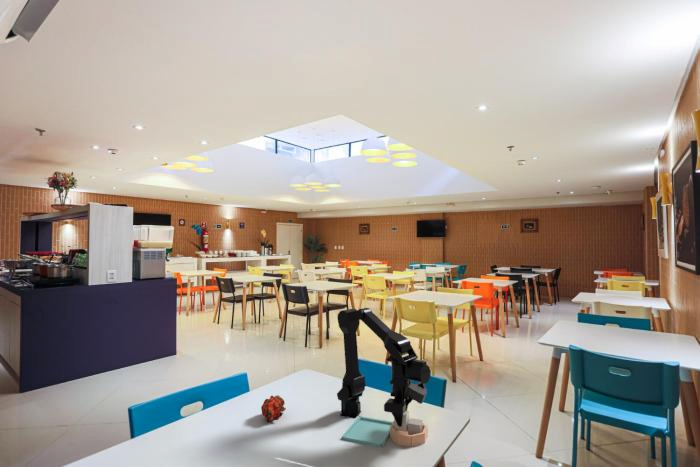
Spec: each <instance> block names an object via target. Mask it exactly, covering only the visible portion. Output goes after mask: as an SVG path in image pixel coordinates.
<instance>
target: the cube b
mask: <svg viewBox="0 0 700 467" xmlns="http://www.w3.org/2000/svg"><path fill="white" fill-rule="evenodd" d="M409 419H410V420H409V422H408V435H414V434H418V433H422V432H423V423H424V422H423V419H420V418H412V417H410V418H409Z"/></svg>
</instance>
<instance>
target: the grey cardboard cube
mask: <svg viewBox="0 0 700 467" xmlns="http://www.w3.org/2000/svg"><path fill="white" fill-rule="evenodd" d="M393 419H394V420H393V421H394V426H395V430H400V431H405V432H407V430H408V422H409V419H410V411H409V410H407V411H405V412H404V413H403V421H402V426H401V427H399V426H398V425H397V423H396V421H395V418H394V417H393Z"/></svg>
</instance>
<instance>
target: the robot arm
mask: <svg viewBox="0 0 700 467" xmlns="http://www.w3.org/2000/svg"><path fill="white" fill-rule="evenodd" d="M360 321H361V322H362V323H364V325H366V326H367V328H369V329H370V331H372V332H373V333H374V334H375V335H376V337H378V338H379V339H380V340H381V342H382V343H383V346H384V348H385V351H387V352H388V354H389V356H388V357H387V358H386V359H385V360H386V362H388V363H390V364H391V379H390V380H389V383H390V385H391V389H392V390H391V392H390V397H394V398H388V399H387V400H386V402H385V403H384V404H383V411H384V412H386V413H391V416H393V419H394V418H395V421H396V423H397V425H398V426H399V427H401V426H402V421H403V413H404V412H405V411H408V409H409V408H408V407H409V404H410V403H411V402H413V401H416V402H417V403H418V404H423V402H424V401H425V398H426V396H427V394H428V389H427V388H426V384H427V383H428V382H429V381H430V379H431V375H432V374H431V368H430V367H429V365H427V360H420V359H418V357H419V356H418V355H417V353H416V351H415V350H414V348H413V347H412V345H411V344H412V343H411V341H410V340H409V338H408V337H406V336H405V335H403V334H401V333H399V332H396V331H394V330H393V329H391V328H390V327H389V326H388V325H387V324H386V323H385V322H384V321H382V319H380V318H379V317H378V316H377V315H376V314H375V313H374V312H373V311H372V309H371V308H370V307H364V308H359V309H356V308H354V307H353V308H349V309H343V310H340V311H339V312H338V314H337V323H338V327H339V329H340V331H341V332H342V334H343V349H344V362H345V365H344V366H345V373H344V375H343V378H342V382H341V383H342V386H341V389H339V390H338V391H337V393H336V398H337V400H338V401H340V407H341V408H340V409H341V410H340V412H341V413H340V414H339V417H343V418H349V419H357V417H359V416H360V414H361V413H362V410H361V408H362V407H361V405H362V404H361V401H360V397H363V394H364V391H365V390H366V386H367V384H366V376H365V375H364V374H362V373H361V372H360V369H359V354H358V353H359V351H358V342H357V341H358V339H357V332H358V329H359V326H360V323H361V322H360ZM412 381H413V382H416V383H415V384H414V383H413V382H412Z"/></svg>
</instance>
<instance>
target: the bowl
mask: <svg viewBox="0 0 700 467" xmlns="http://www.w3.org/2000/svg"><path fill="white" fill-rule="evenodd" d="M410 419H411V418H409V420H410ZM392 422H393V423H392V424H391V426H390V436H389V438H390V439H391V440H392V441H393V442H395V444H396V445H401V446H405V447H410V448H411V447H416V446H420V445H424V444H426V442H427V439H428V437H429V435H428V434H429V432H428V428H429V427H428V426H427V424H425V423H424V422H423V432H422V433H418V434H414V435H408V430H407V432H405V431H400V430H395V426H394V420H393V421H392Z"/></svg>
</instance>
